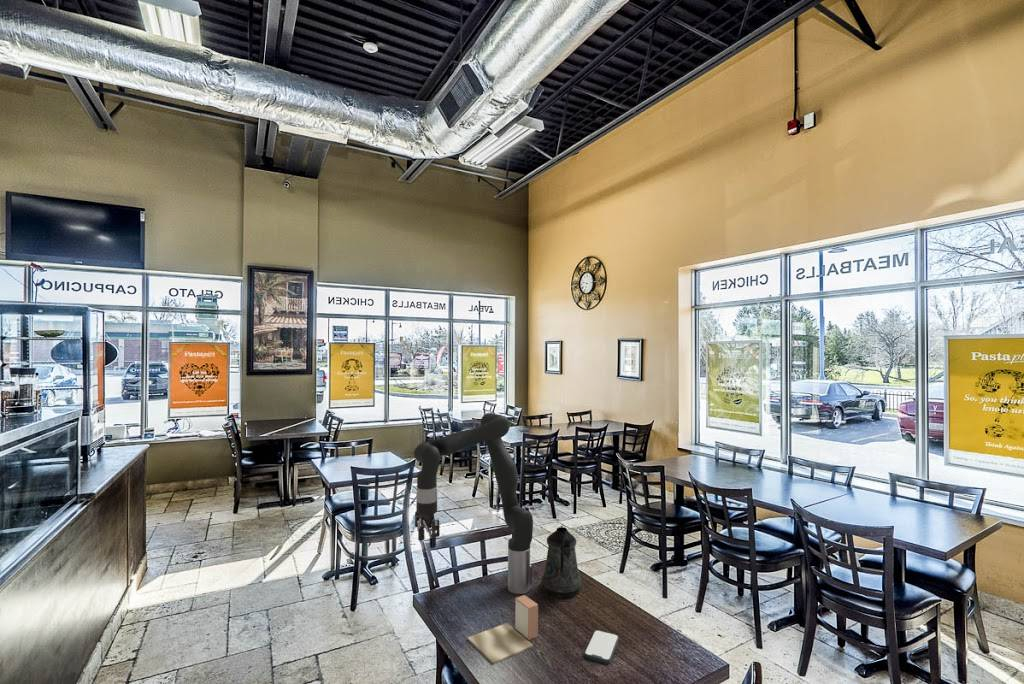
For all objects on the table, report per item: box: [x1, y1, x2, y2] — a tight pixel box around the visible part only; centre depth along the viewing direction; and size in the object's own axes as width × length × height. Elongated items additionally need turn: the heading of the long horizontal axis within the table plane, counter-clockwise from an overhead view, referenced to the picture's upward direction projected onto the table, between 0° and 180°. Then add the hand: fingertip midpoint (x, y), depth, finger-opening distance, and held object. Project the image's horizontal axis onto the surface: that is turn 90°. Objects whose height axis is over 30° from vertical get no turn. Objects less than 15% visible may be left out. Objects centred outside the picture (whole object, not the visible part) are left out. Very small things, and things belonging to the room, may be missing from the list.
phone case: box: [583, 629, 620, 665], centre depth 164 cm, size 9×2×16 cm
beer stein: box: [541, 526, 582, 599], centre depth 203 cm, size 16×19×25 cm
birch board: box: [467, 622, 534, 665], centre depth 166 cm, size 16×16×1 cm
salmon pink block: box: [514, 594, 539, 641], centre depth 172 cm, size 4×8×11 cm, turn 35°
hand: (426, 543), depth 178 cm, fingers open, 8 cm apart
